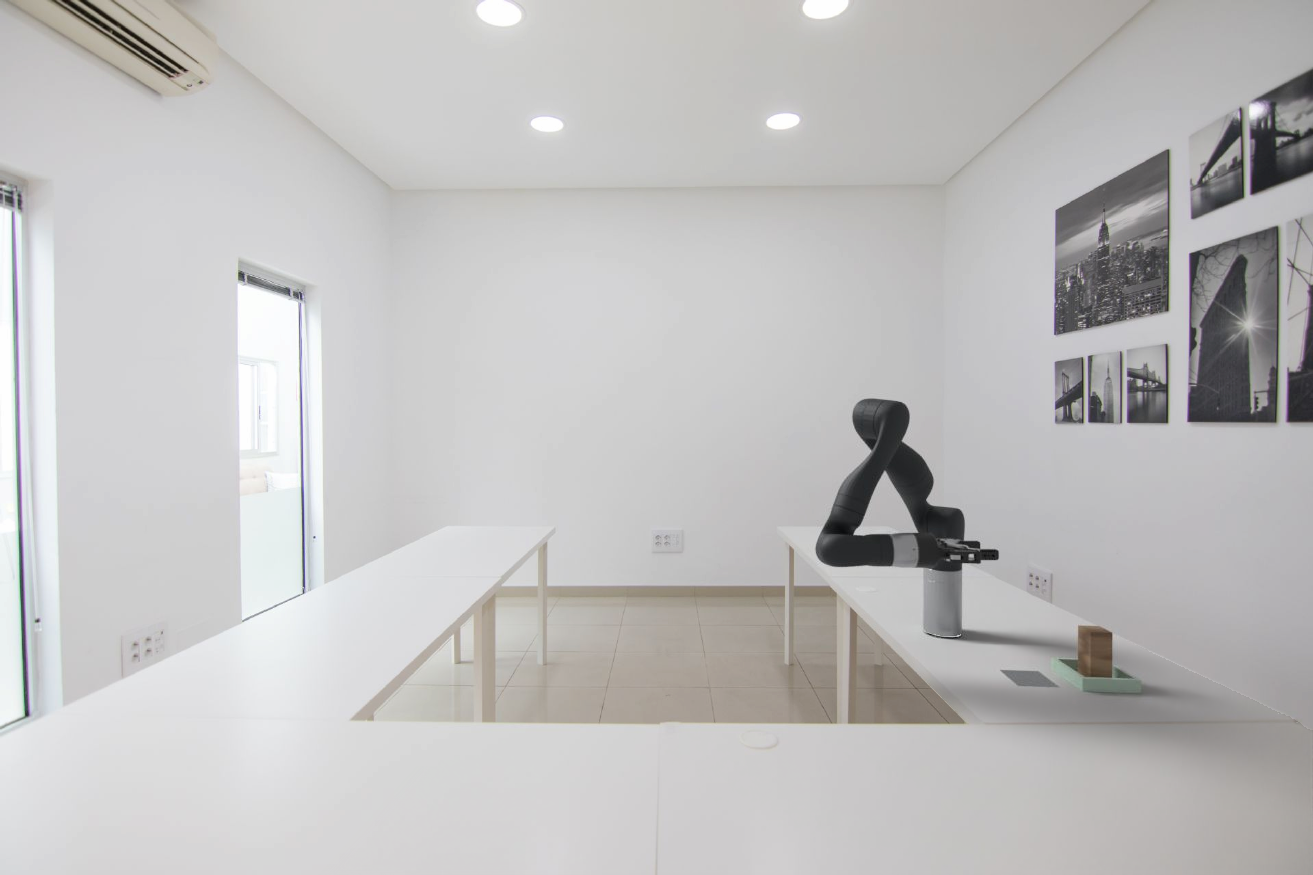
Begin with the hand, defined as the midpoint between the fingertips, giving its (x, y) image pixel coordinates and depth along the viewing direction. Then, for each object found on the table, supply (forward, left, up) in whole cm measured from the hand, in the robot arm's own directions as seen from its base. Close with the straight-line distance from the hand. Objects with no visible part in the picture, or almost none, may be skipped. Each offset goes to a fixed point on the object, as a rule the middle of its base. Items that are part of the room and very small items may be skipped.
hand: (988, 550), depth 128 cm
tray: (+3, +20, -27) cm, 34 cm away
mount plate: (+3, +7, -27) cm, 28 cm away
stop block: (+3, +20, -27) cm, 33 cm away
